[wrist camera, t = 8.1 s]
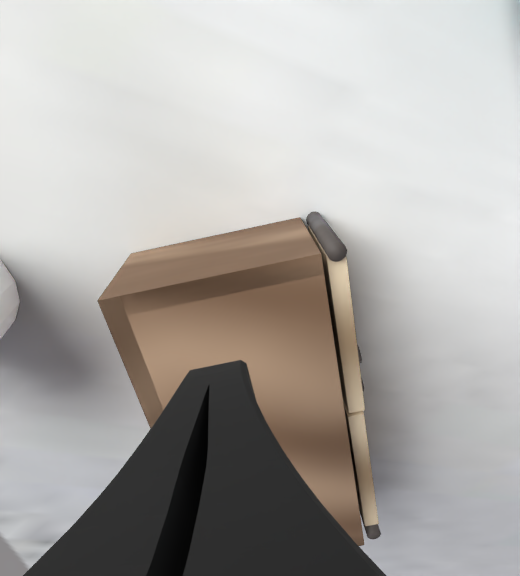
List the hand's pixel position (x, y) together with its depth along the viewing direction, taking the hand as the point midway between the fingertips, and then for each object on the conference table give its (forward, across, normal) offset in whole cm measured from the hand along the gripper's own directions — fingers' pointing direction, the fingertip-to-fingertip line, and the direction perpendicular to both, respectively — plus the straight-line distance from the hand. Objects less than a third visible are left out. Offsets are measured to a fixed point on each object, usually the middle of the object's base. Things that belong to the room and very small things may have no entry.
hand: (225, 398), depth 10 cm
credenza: (+10, 0, +7) cm, 13 cm away
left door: (+10, -4, +11) cm, 16 cm away
